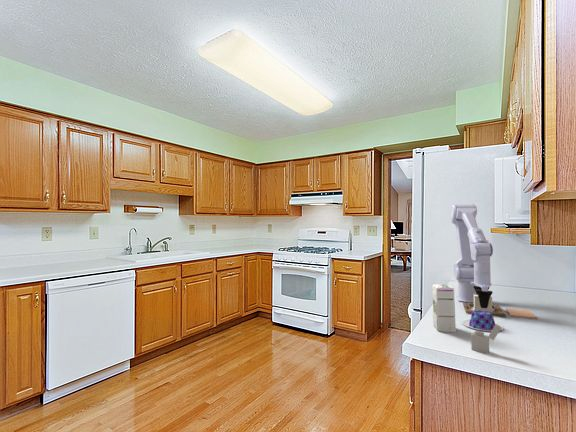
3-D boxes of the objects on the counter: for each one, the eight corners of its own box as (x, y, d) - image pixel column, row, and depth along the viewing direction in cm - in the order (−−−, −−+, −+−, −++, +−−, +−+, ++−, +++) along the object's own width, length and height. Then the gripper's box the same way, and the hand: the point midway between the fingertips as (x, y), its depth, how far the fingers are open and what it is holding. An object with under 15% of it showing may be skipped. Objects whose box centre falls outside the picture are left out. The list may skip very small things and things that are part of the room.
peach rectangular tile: (505, 309, 128) (505, 308, 128) (529, 311, 125) (529, 310, 125) (511, 316, 119) (511, 314, 119) (537, 319, 116) (537, 317, 116)
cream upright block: (473, 309, 130) (473, 294, 130) (491, 310, 127) (490, 295, 127) (474, 310, 127) (474, 296, 127) (492, 312, 125) (492, 297, 125)
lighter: (471, 350, 89) (470, 321, 89) (472, 347, 90) (471, 319, 90) (501, 355, 85) (501, 326, 85) (502, 353, 86) (501, 324, 86)
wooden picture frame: (463, 304, 136) (462, 300, 136) (498, 307, 131) (498, 303, 131) (466, 313, 124) (466, 309, 124) (505, 317, 118) (505, 312, 118)
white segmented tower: (456, 332, 103) (455, 287, 103) (436, 331, 104) (436, 287, 104) (451, 326, 108) (450, 284, 109) (432, 325, 110) (431, 283, 110)
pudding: (454, 324, 112) (454, 309, 112) (478, 320, 116) (477, 305, 116) (487, 335, 101) (487, 319, 101) (511, 330, 105) (511, 314, 105)
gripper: (468, 269, 136) (469, 300, 135) (472, 274, 123) (473, 309, 122) (488, 269, 133) (488, 302, 133) (494, 275, 120) (495, 311, 119)
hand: (482, 305), depth 127 cm, fingers open, 6 cm apart
